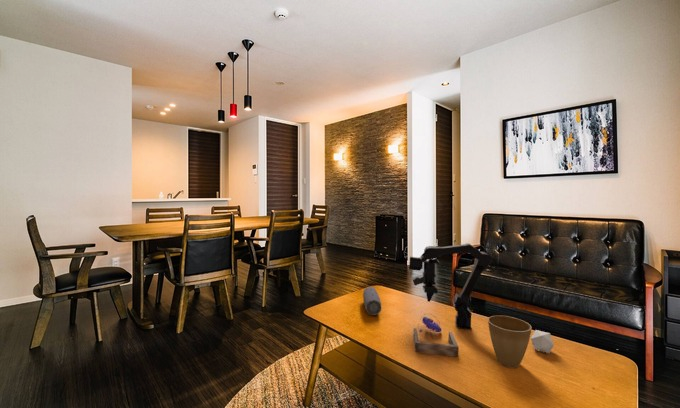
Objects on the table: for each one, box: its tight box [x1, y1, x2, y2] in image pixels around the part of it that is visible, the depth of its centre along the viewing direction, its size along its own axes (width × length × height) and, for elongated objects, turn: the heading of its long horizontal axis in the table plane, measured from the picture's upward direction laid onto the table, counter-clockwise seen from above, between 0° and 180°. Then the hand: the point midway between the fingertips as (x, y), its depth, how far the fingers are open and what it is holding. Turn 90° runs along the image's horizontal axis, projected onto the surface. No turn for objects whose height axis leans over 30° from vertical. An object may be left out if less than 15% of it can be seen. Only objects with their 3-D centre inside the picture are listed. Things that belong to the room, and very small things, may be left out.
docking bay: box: [412, 327, 459, 358], centre depth 127 cm, size 17×14×4 cm
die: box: [530, 329, 555, 354], centre depth 125 cm, size 8×9×10 cm
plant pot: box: [487, 315, 533, 369], centre depth 116 cm, size 15×15×16 cm
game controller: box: [417, 313, 442, 339], centre depth 141 cm, size 11×9×11 cm
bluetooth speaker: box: [362, 286, 382, 316], centre depth 168 cm, size 23×9×10 cm, turn 179°
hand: (428, 301), depth 151 cm, fingers closed
